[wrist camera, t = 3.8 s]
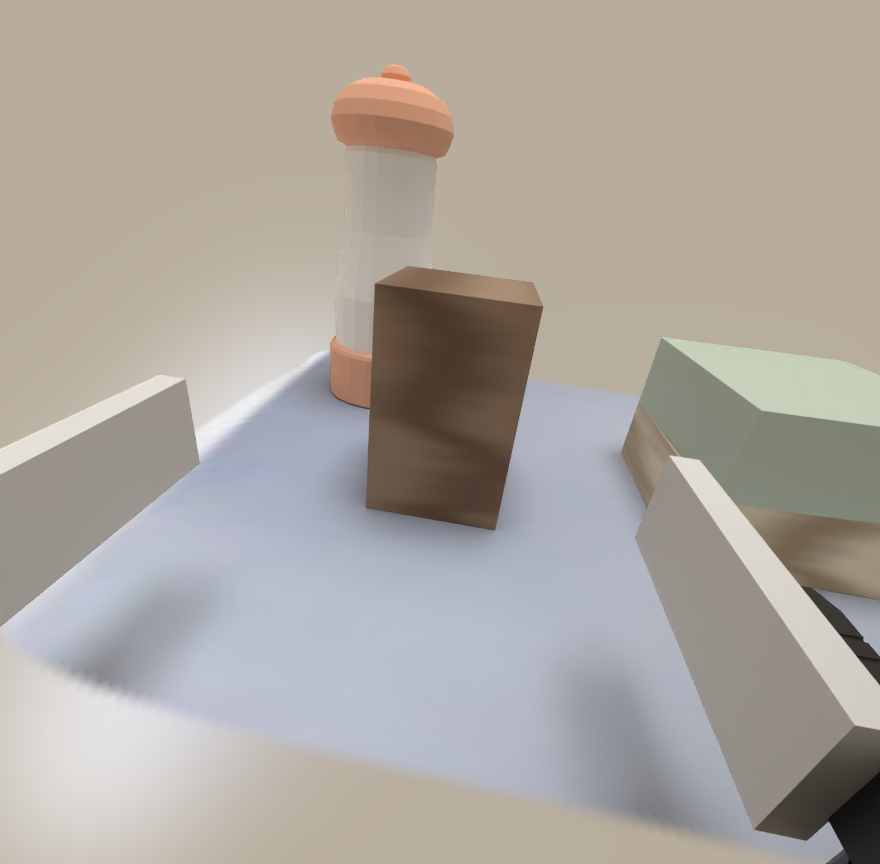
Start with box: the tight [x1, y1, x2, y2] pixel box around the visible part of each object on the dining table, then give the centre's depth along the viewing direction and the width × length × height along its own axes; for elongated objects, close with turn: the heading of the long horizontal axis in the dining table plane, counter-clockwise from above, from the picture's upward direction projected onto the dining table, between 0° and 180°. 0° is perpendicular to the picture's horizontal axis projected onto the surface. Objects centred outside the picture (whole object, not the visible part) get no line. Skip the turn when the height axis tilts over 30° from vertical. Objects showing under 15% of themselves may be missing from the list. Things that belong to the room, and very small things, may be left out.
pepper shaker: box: [330, 64, 454, 408], centre depth 28 cm, size 7×7×19 cm
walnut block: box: [366, 266, 543, 530], centre depth 20 cm, size 6×6×10 cm
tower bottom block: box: [621, 403, 880, 600], centre depth 22 cm, size 10×10×4 cm
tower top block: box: [639, 337, 880, 525], centre depth 21 cm, size 10×10×4 cm
